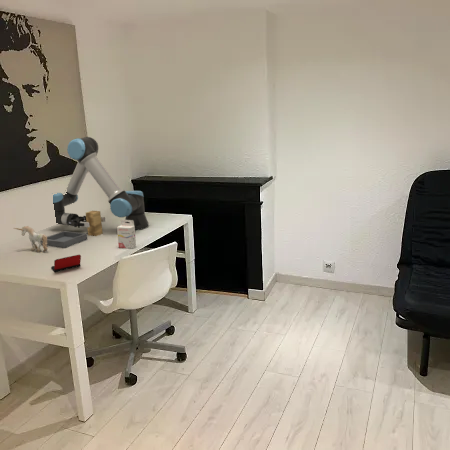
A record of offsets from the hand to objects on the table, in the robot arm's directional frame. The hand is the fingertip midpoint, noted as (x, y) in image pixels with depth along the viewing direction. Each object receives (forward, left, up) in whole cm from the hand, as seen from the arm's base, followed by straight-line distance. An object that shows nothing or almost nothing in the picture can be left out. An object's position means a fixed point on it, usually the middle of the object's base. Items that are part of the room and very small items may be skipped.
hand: (97, 222), depth 291 cm
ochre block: (+2, 0, -8) cm, 8 cm away
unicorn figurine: (+12, +39, -8) cm, 41 cm away
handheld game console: (-27, +52, -8) cm, 60 cm away
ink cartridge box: (-33, +13, -8) cm, 36 cm away
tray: (+8, +19, -8) cm, 22 cm away
